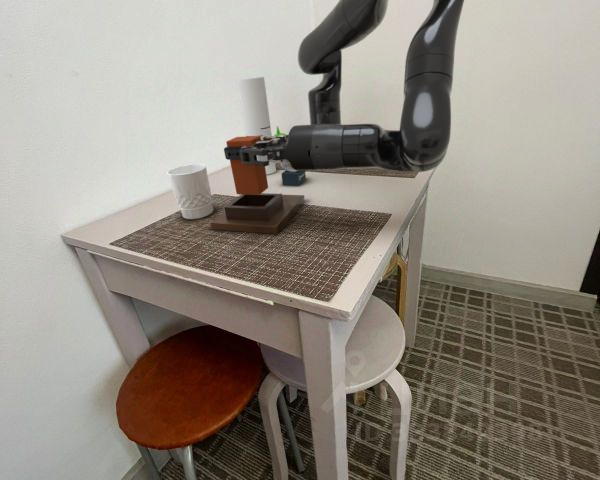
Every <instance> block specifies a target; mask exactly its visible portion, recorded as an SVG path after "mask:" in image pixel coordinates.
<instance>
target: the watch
mask: <svg viewBox="0 0 600 480" xmlns="http://www.w3.org/2000/svg"><path fill="white" fill-rule="evenodd" d="M278 164H279V165H280V166H281V168H282V169H283V170H284V171H283V172H281V174H280V175H281V181H282V183H281V184H282V186H291V187H299V186H300V185H301V184H303V183H304V182H305V180H306V179H307V175H306V170H295V169H293V168H292V166H290V165H289V163H288V162H287V160H286V159H285V160H283V162H279V163H278Z"/></svg>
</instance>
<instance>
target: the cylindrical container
mask: <svg viewBox="0 0 600 480" xmlns="http://www.w3.org/2000/svg"><path fill="white" fill-rule="evenodd" d="M236 83H237V90H238V95H239V102H240V108H241V113H242V114H241V115H242V119H243V126H244V131H245V137H246V136H260V137H261V139H262V138H263V137H265V136H267V137H269V136H273V135H272V128H271V120H270V111H269V104H268V98H267V90H266V89H267V88H266V81H265V76H258V77H250V78H249V77H248V78H240V79H236ZM265 169H266V176H267V175H271V174H274V173H276V172H277V166H276V163H273V162H269V165H268V166H265Z"/></svg>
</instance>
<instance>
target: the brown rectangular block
mask: <svg viewBox="0 0 600 480" xmlns="http://www.w3.org/2000/svg"><path fill="white" fill-rule="evenodd" d="M259 141H261V137H260V136H246V135H245V136H236V137H233V138H231V139H229V140H227V141H225V143H226V147H231V146H244V145H246V146H248V145H254V144H255V143H256V142H259ZM260 149H262V146H260ZM229 163H230V168H231V172H232V177H233V183H234V187H235V191H236V192H235V193H236V195H241V194H252V195H260V194H261V193H264V192H265V191H266V190H267V189H269V184H268V183H269V182H268V177H267V175H266V169H265V166H258V165H249V164H242V159H241V160H229Z"/></svg>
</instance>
